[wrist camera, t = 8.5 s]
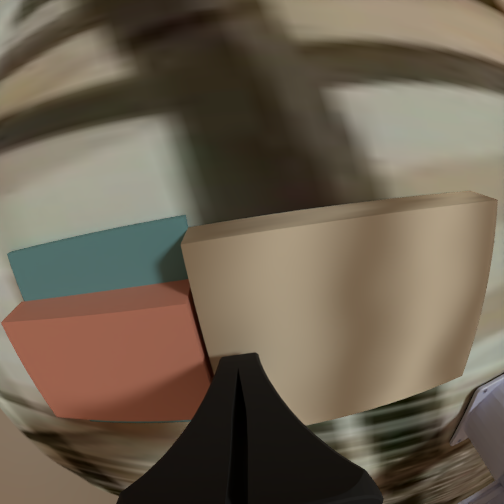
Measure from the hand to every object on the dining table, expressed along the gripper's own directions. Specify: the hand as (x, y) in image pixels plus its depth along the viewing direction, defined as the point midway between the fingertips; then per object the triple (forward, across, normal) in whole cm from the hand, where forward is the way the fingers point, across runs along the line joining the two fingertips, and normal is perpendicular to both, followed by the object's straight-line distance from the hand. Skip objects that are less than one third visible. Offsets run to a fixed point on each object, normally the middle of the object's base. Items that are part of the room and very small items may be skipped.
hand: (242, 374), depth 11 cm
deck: (+3, -5, 0) cm, 6 cm away
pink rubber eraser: (+2, +6, 0) cm, 6 cm away
